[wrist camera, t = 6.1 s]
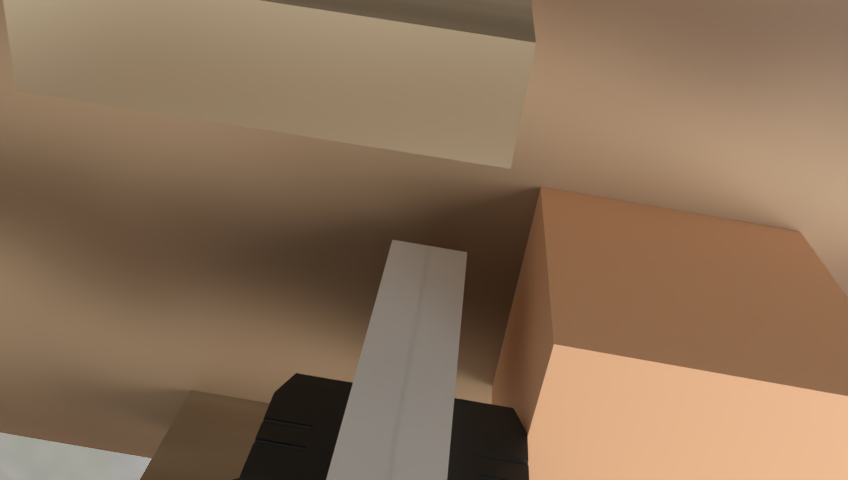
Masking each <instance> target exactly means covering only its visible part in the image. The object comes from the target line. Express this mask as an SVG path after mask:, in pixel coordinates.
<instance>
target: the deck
mask: <svg viewBox="0 0 848 480" xmlns="http://www.w3.org/2000/svg"><path fill="white" fill-rule="evenodd" d="M541 187H544V188H550V189H555V190H561V191H567V192H573V193H579V194H584V195H590V196H596V197H602V198H608V199H613V200H619V201H625V202H631V203H636V204H642V205H648V206H654V207H660V208H665V209H671V210H677V211H683V212H688V213H694V214H700V215H706V216H712V217H717V218H723V219H729V220H735V221H740V222H746V223H752V224H758V225H764V226H769V227H775V228H781V229H787V230H792V231H798V232H801V233H802V235H803V236H804V238H805V239H806V240H807V242H808V243H809V245H810V246H811V247H812V249H813V250H814V252H815V253H816V254H817V256H818V257H819V259H820V260H821V261H822V263H823V264H824V266H825V267H826V268H827V270H828V271H829V273H830V274H831V275H832V277H833V278H834V280H835V281H836V282H837V284H838V285H839V286H840V288H841V289H842V291H843V292H844V293H845V295H846V296H847V298H848V0H0V432H1V433H7V434H13V435H19V436H25V437H31V438H37V439H42V440H48V441H54V442H60V443H66V444H72V445H78V446H83V447H89V448H95V449H101V450H107V451H113V452H119V453H125V454H130V455H136V456H142V457H148V458H152V460H151V461H150V463H149V465H148V467H147V468H146V470H145V472H144V474H143V475H142V477H141V479H140V480H233V479H236V478H239V477H240V474H241V472H242V469H243V467H244V464H245V462H246V460H247V457H248V455H249V452H250V450H251V448H252V445H253V443H255V438H256V435H257V433H258V431H259V428H260V426H261V423H262V422H263V420H264V416H265V414H266V411H267V409H268V406H269V404H270V401H271V399H272V397H273V394H274V392H275V391H276V390H277V389H279V388H280V387H281V386H282V385H283V384H284V383H285V382H287V381H288V380H289V379H290V378H291V377H292V376H293V375H294V374H296V373H299V374H305V375H310V376H316V377H322V378H328V379H334V380H340V381H346V382H352V383H353V380H354V377H355V373H356V370H357V366H358V362H359V359H360V355H361V352H362V348H363V344H364V341H365V337H366V333H367V330H368V326H369V323H370V319H371V315H372V312H373V308H374V304H375V301H376V297H377V294H378V290H379V286H380V283H381V279H382V276H383V272H384V268H385V265H386V261H387V257H388V254H389V250H390V247H391V243H392V240H397V241H403V242H409V243H415V244H421V245H427V246H433V247H439V248H445V249H451V250H457V251H463V252H467V261H466V272H465V283H464V295H463V306H462V317H461V329H460V340H459V351H458V363H457V374H456V385H455V397H454V398H457V399H463V400H469V401H475V402H481V403H487V404H492V385H493V381H494V377H495V373H496V369H497V365H498V361H499V356H500V352H501V348H502V344H503V340H504V336H505V332H506V328H507V324H508V319H509V315H510V311H511V307H512V303H513V299H514V295H515V291H516V287H517V282H518V278H519V274H520V270H521V266H522V262H523V258H524V254H525V250H526V245H527V241H528V237H529V233H530V229H531V225H532V221H533V217H534V213H535V208H536V204H537V200H538V196H539V192H540V188H541Z"/></svg>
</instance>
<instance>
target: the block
mask: <svg viewBox="0 0 848 480" xmlns="http://www.w3.org/2000/svg"><path fill="white" fill-rule="evenodd" d="M492 404H493V405H499V406H505V407H511V408H514V410H515V412H516V414H517V415H518V417H519V419H520V421H521V423H522V425H523V426H524V428H525V430H526V432H527V436H528V466H529V480H848V298H847V296H846V295H845V293H844V292H843V291H842V289H841V288H840V286H839V285H838V284H837V282H836V281H835V280H834V278H833V277H832V275H831V274H830V273H829V271H828V270H827V268H826V267H825V266H824V264H823V263H822V261H821V260H820V259H819V257H818V256H817V254H816V253H815V252H814V250H813V249H812V247H811V246H810V245H809V243H808V242H807V240H806V239H805V238H804V236H803V235H802V233H801V232H798V231H792V230H787V229H781V228H775V227H769V226H764V225H758V224H752V223H746V222H740V221H735V220H729V219H723V218H717V217H712V216H706V215H700V214H694V213H688V212H683V211H677V210H671V209H665V208H660V207H654V206H648V205H642V204H636V203H631V202H625V201H619V200H613V199H608V198H602V197H596V196H590V195H584V194H579V193H573V192H567V191H561V190H555V189H550V188H544V187H541V188H540V192H539V196H538V200H537V204H536V208H535V213H534V217H533V221H532V225H531V229H530V233H529V237H528V241H527V245H526V250H525V254H524V258H523V262H522V266H521V270H520V274H519V278H518V282H517V287H516V291H515V295H514V299H513V303H512V307H511V311H510V315H509V319H508V324H507V328H506V332H505V336H504V340H503V344H502V348H501V352H500V356H499V361H498V365H497V369H496V373H495V377H494V381H493V385H492Z"/></svg>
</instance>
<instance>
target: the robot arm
mask: <svg viewBox="0 0 848 480" xmlns="http://www.w3.org/2000/svg"><path fill="white" fill-rule="evenodd" d="M466 261H467V252H463V251H457V250H451V249H445V248H439V247H433V246H427V245H421V244H415V243H409V242H403V241H397V240H392V243H391V247H390V250H389V254H388V257H387V261H386V265H385V268H384V272H383V276H382V279H381V283H380V286H379V290H378V294H377V297H376V301H375V304H374V308H373V312H372V315H371V319H370V323H369V326H368V330H367V333H366V337H365V341H364V344H363V348H362V352H361V355H360V359H359V362H358V366H357V370H356V373H355V377H354V380H353V383H352V382H346V381H340V380H334V379H328V378H322V377H316V376H310V375H305V374H299V373H296V374H294V375H293V376H292V377H291V378H290V379H289V380H288V381H287V382H285V383H284V384H283V385H282V386H281V387H280V388H279V389H277V390H276V391H275V392H274V394H273V397H272V399H271V401H270V404H269V406H268V409H267V411H266V414H265V416H264V420H263V422H262V423H261V426H260V428H259V431H258V433H257V435H256V438H255V443H253V445H252V448H251V450H250V452H249V455H248V457H247V460H246V462H245V464H244V467H243V469H242V472H241V474H240V477H239V478H236V479H233V480H529V466H528V436H527V432H526V430H525V428H524V426H523V425H522V423H521V421H520V419H519V417H518V415H517V414H516V412H515V410H514V408H511V407H505V406H499V405H493V404H487V403H481V402H475V401H469V400H463V399H457V398H454V397H455V385H456V374H457V363H458V351H459V340H460V329H461V317H462V306H463V295H464V283H465V272H466Z"/></svg>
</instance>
